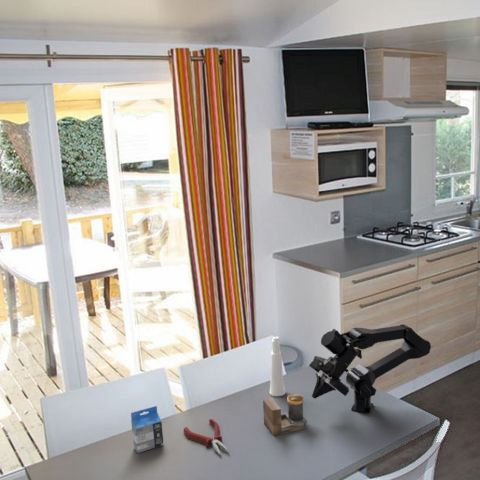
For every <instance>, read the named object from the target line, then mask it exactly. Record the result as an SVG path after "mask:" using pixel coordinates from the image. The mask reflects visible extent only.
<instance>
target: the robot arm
mask: <svg viewBox="0 0 480 480" xmlns="http://www.w3.org/2000/svg"><path fill="white" fill-rule="evenodd" d="M396 340H403V342H402V345H401V346H400V347H399V348H397V349H396V350H393V351H392V352H390V353H389V354H387V355H385V356H384V357H382V358H381V359H379V360H377V361H375V362H373V363H372V364H370V365H368V366H365V365H363V364H361V363H359V364H357V365H356V366H355V367H352V368H351V367H350V370H348V368H349V366H350V365H351V364H352V363H353V361H354V360H355V359H356V357H357V358H359V359H360V360H362V359H363V355H362V350H366V349H369V348H371V347H373V346H374V345H375V344H378V343H383V342H391V341H396ZM320 344H321V345H322V346H323V347H324V348H325V349H326V350H327V351H329V352H330V353H332V354H333V355H334V356H329V357H328V358H325V357H321V356H317V355H314V357H313V360H312V361H311V362H310V364H309V365H308V367H310V368H311V369H313V370H314V371H315V376H316V383H315V386H314V388H313V391H312V394H311V397H312V399H317V398H319V397H321V396H323V395H325V394H328V393H330V392H333V391H336V390H337V391H338V392H339V393H340V394H342V395H343V396H344V397H346V396H347V395H348V394H349V392H350V389H352V390H353V391H354V393H353V400H354V401H353V404H352V406H351V411H354V412H360V413H364V414H370V413H371V411H372V409H373V407H374V406H375V405H374V403H372V397H373V396H375V395H376V392H377V389H376V388H375V387H374V384H375V382H376V380H377V379H378V378H380V377H382V376H383V375H385V374H386V373H388V372H391V371H392V370H394V369H395V368H397V367H399V366H400V365H402V364H404V363H406V362H407V361H409V360H415V359H421V358H424V357H425V356H428V355H429V353H430V352H431V348H432V345H431V343H430V341H429V340H427V339H425V338H423V337H421V336H420V335H419V334H418V333H417V332H416V331H414V329H413V328H412V327H410V326H408V325H406V324H405V323H403V324H400V325H394V326H387V327H379V328H375V329H373V328H371V329H370V328H365V327H352V328H351V329H350V330H349V331H347V332H343V333H340V332H339V331H338V330H337V329H335V328H333V329H332V330H331V331H327V332H326V333H324V334H323V336H322V337H321V339H320ZM316 372H317V373H316ZM344 373H346V377H345V382H346V384H347V385H348V386H349V387H350V388H349V387H348V386H347V385H346V384H345V383H343V382H342V379H341V377H342V375H343V374H344Z"/></svg>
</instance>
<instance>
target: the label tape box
mask: <svg viewBox="0 0 480 480" xmlns="http://www.w3.org/2000/svg"><path fill="white" fill-rule="evenodd" d="M147 412H148V413H147ZM130 417H131V419H130V421H131V422H130V423H131V431H132V440H133V448H134V450H135V451H136V453H137V454H140V453H143V452H145V451H149V450H152V449H155V448H158V447H162V446H164V445H165V444H164V435H163V434H164V432H163V423H162V419H161V417H160V415H159V413H158V406H157V405H154V406H151V407H148V408H144V409H139V410H137V411H132V412H131V413H130Z"/></svg>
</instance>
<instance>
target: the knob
mask: <svg viewBox="0 0 480 480" xmlns="http://www.w3.org/2000/svg"><path fill="white" fill-rule="evenodd" d="M286 400H287V401H286V402H287V411H288V412H287V413H288V414H286V415H285V417H286V418H287V420H288V421H289V422H290V423H291V424H295V423H299V422H304V424H307V422H308V421H307V419H306V418H305V416H304V396H303V395H301V394H296V393H294V394H290V395H288V396H287V399H286Z"/></svg>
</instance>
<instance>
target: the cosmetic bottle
mask: <svg viewBox="0 0 480 480" xmlns="http://www.w3.org/2000/svg"><path fill="white" fill-rule="evenodd" d="M280 346H281V343H280V337H279V336H273V337H272V339H271V349H272V350H271V353H270V354H271V355H270V385H269V393H268V394H269V395H270V396H273V397H282V396H284V395H285V394H286V393H287V392H286V388H285V382H284V371H283V361H282V359H283V358H282V352H281V347H280Z"/></svg>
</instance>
